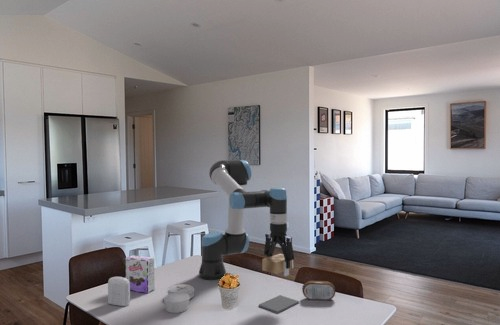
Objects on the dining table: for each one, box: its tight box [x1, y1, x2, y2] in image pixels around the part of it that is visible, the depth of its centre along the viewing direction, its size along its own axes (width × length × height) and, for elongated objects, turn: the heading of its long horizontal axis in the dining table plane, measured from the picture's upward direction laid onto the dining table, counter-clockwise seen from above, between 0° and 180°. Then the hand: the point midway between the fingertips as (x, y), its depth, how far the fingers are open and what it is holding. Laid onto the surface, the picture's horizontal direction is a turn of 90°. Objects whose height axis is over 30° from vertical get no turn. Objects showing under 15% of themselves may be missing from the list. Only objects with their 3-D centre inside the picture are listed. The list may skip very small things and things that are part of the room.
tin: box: [302, 280, 336, 301], centre depth 170 cm, size 15×3×8 cm, turn 84°
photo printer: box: [107, 276, 131, 307], centre depth 167 cm, size 10×4×12 cm, turn 72°
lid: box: [166, 283, 195, 299], centre depth 175 cm, size 13×13×5 cm
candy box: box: [124, 255, 156, 294], centre depth 184 cm, size 14×6×16 cm, turn 68°
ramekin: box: [163, 293, 191, 314], centre depth 161 cm, size 11×11×5 cm
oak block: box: [261, 253, 294, 275], centre depth 164 cm, size 8×5×12 cm
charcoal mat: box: [258, 294, 300, 314], centre depth 165 cm, size 11×15×1 cm
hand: (278, 273), depth 164 cm, fingers closed on oak block, 8 cm apart
